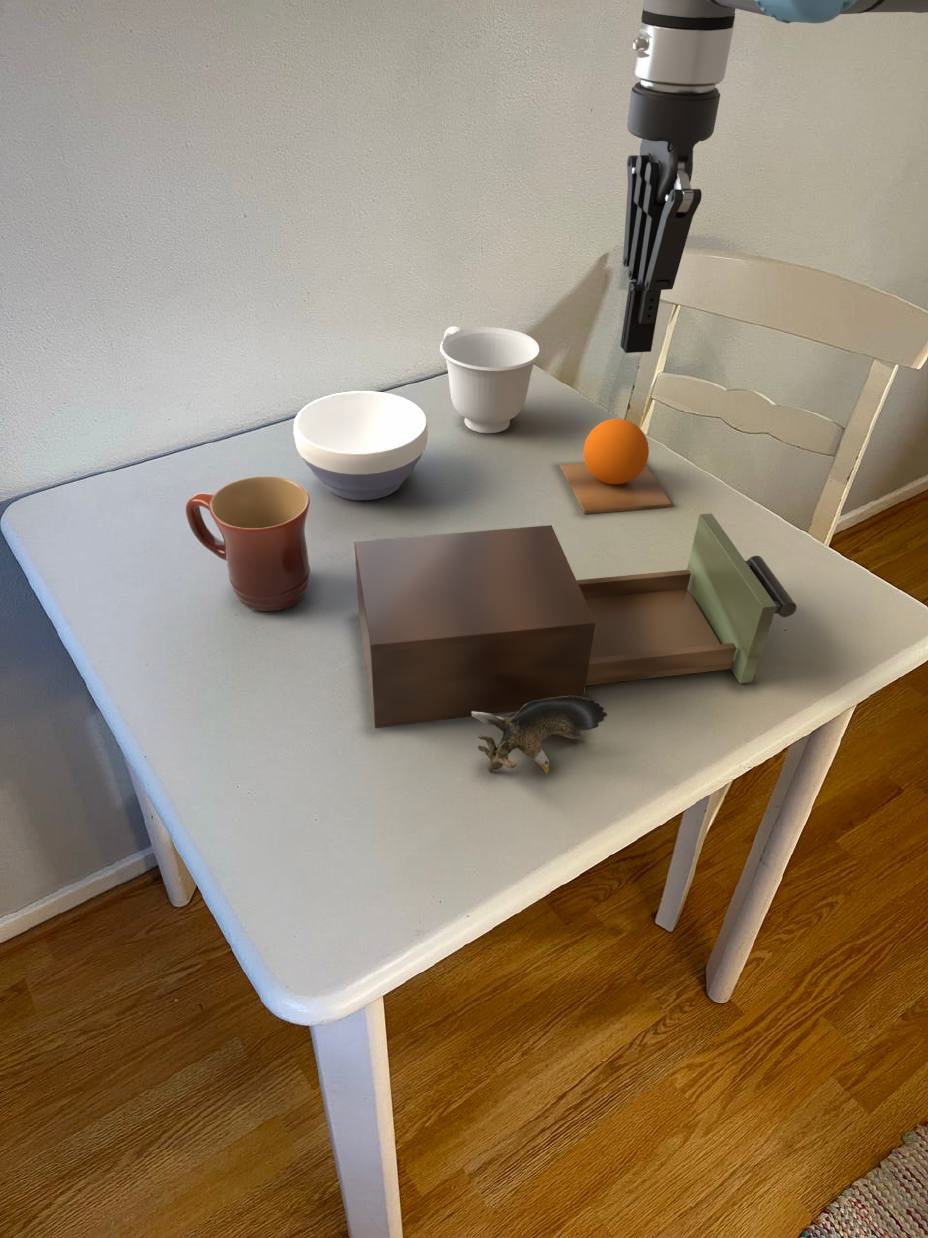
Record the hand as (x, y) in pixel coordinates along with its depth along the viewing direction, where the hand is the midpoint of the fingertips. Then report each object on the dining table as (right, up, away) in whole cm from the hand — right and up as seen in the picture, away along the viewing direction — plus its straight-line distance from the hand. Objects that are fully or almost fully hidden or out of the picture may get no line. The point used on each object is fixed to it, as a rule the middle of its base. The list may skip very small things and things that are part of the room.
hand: (635, 348), depth 92 cm
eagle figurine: (-12, -39, -20) cm, 45 cm away
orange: (0, -12, +10) cm, 16 cm away
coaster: (0, -13, +11) cm, 16 cm away
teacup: (-15, -2, +22) cm, 27 cm away
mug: (-37, -25, -5) cm, 45 cm away
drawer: (0, -29, -10) cm, 31 cm away
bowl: (-29, -12, +10) cm, 33 cm away
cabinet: (-17, -31, -12) cm, 38 cm away
